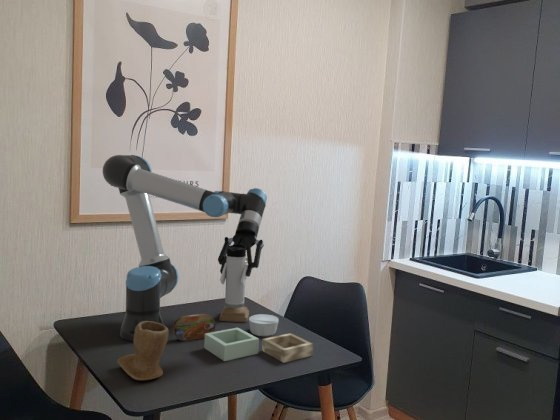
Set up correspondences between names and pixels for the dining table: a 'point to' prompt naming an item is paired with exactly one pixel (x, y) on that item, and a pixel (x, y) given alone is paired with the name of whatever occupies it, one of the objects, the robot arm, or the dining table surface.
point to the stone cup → (146, 351)
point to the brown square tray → (295, 351)
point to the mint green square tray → (231, 344)
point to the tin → (193, 326)
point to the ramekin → (263, 324)
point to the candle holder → (234, 313)
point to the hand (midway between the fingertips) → (232, 282)
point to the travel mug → (235, 276)
